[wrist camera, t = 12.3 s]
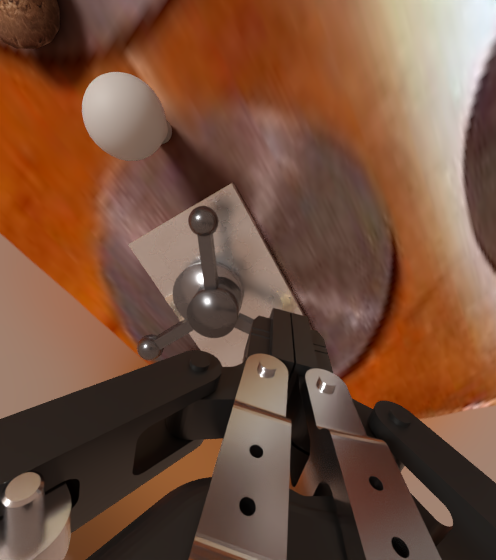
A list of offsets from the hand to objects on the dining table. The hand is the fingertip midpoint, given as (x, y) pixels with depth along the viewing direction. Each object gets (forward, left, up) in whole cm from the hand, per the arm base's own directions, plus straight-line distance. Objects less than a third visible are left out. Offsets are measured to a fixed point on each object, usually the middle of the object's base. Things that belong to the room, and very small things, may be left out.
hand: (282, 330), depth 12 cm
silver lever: (-1, +8, -20) cm, 21 cm away
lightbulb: (+15, +6, -22) cm, 27 cm away
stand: (-3, +9, -22) cm, 24 cm away
